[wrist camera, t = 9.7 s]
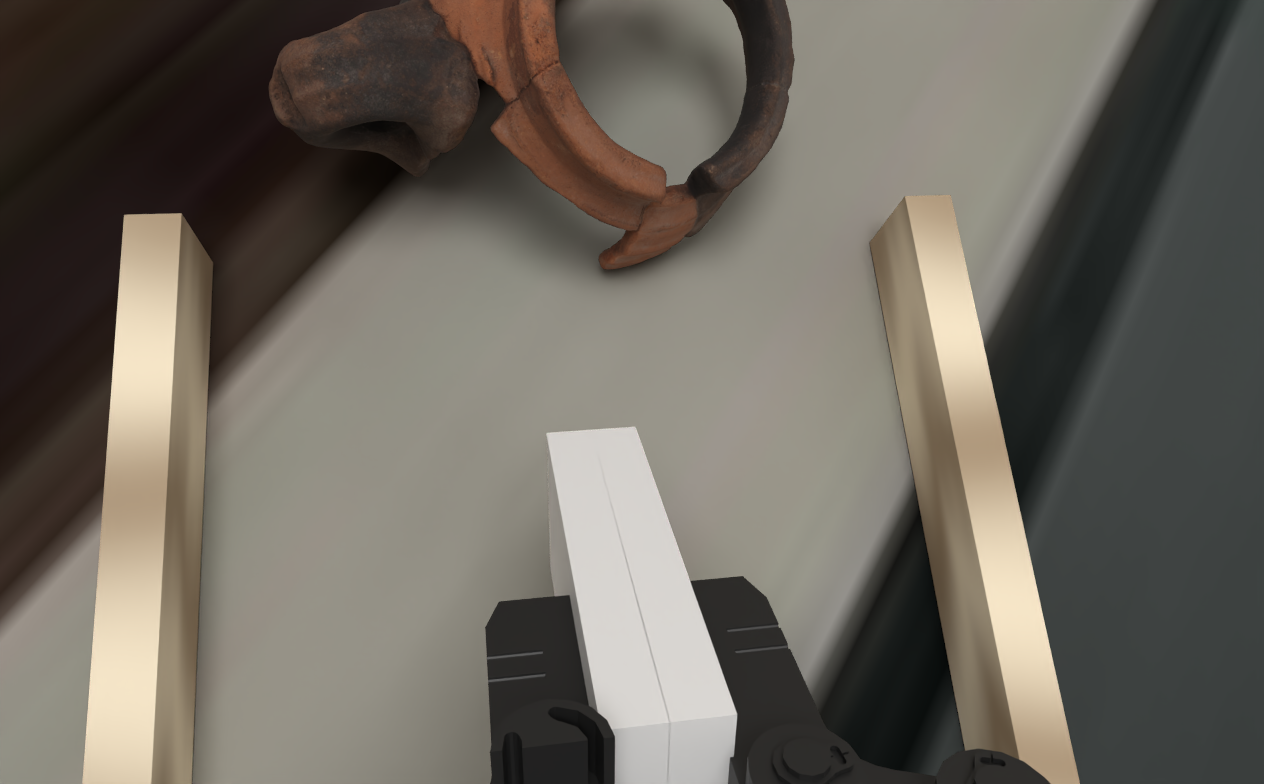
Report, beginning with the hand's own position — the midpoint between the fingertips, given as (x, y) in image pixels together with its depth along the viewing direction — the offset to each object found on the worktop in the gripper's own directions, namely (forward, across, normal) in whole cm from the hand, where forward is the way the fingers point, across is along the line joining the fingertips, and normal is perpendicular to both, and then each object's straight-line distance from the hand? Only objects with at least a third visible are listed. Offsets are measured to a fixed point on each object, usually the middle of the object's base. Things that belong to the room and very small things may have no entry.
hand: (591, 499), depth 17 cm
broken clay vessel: (+13, 0, +3) cm, 13 cm away
